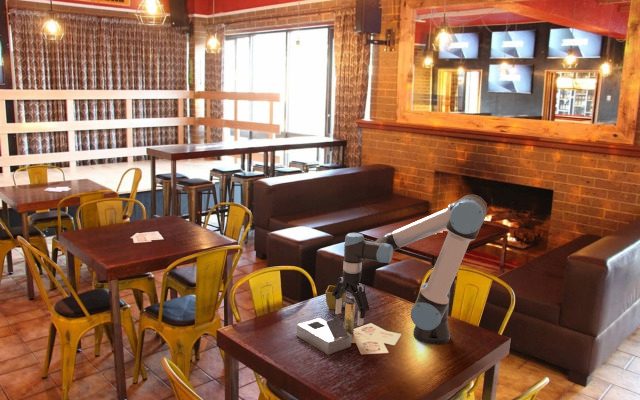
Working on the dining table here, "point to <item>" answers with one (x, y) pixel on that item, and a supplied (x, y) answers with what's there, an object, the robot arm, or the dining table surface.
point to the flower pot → (332, 297)
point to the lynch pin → (349, 314)
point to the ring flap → (337, 330)
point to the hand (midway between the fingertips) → (348, 319)
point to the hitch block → (321, 336)
